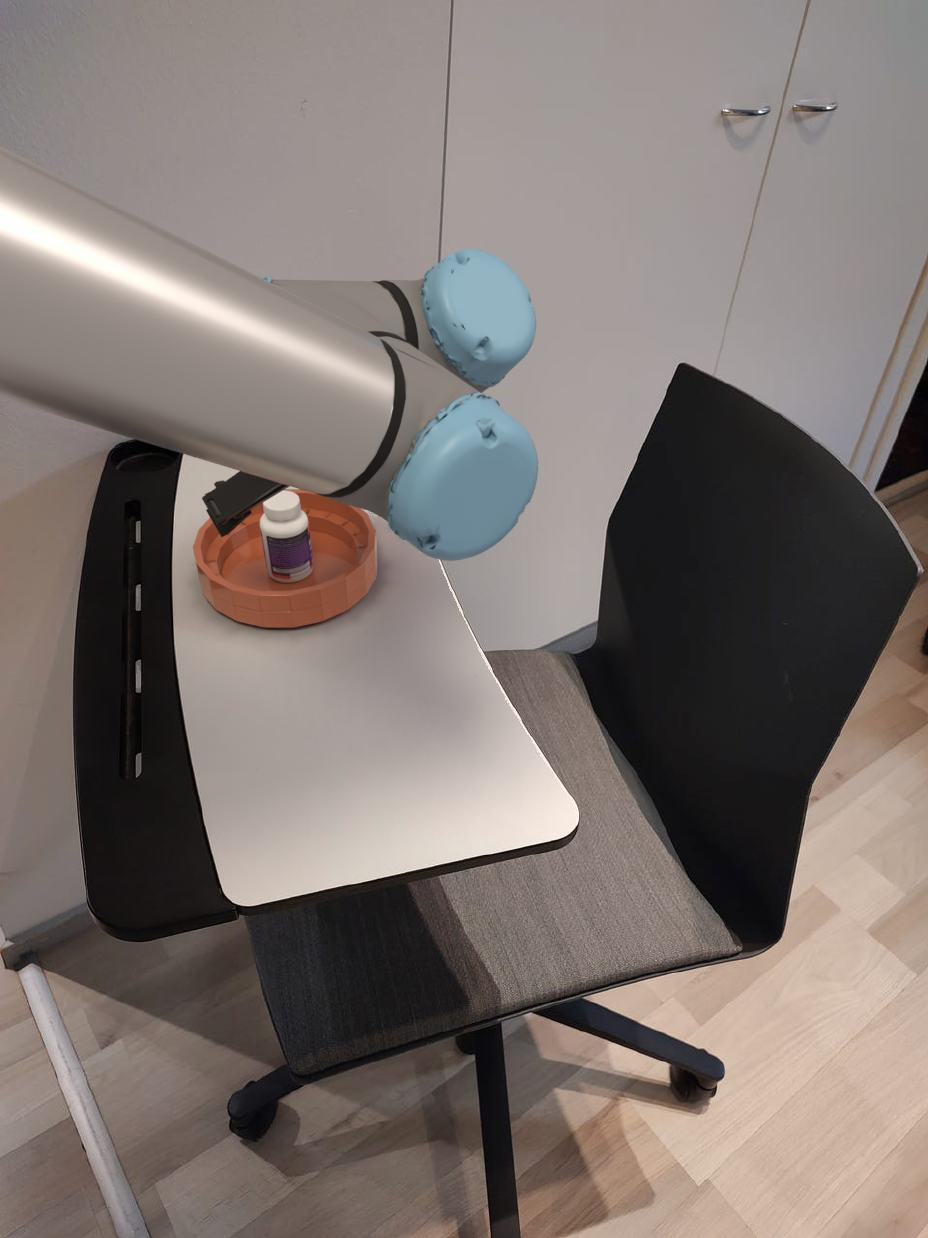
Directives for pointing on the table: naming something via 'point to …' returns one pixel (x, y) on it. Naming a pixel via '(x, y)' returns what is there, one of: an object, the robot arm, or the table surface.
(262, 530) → the pill bottle
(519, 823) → the table surface
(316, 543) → the bowl
